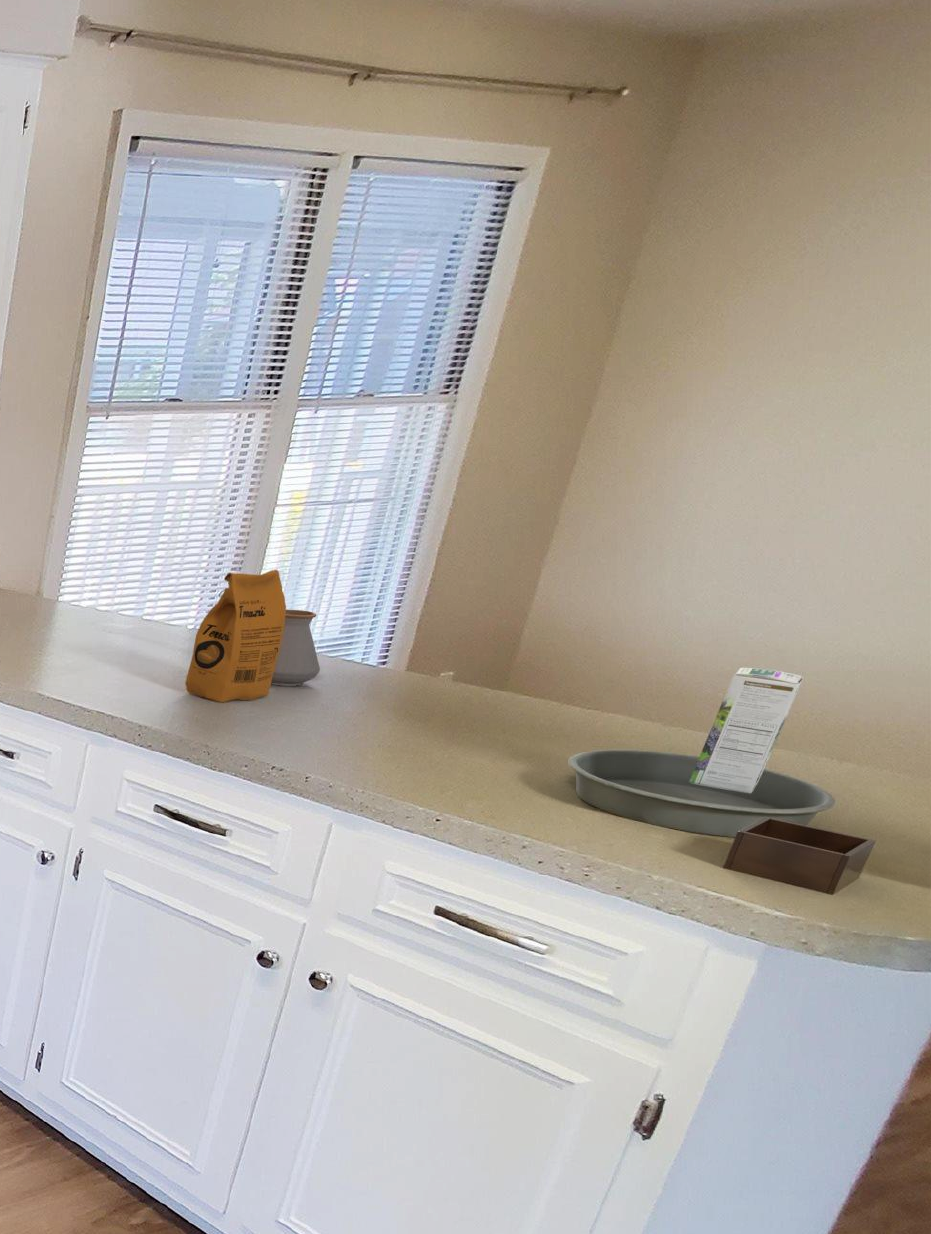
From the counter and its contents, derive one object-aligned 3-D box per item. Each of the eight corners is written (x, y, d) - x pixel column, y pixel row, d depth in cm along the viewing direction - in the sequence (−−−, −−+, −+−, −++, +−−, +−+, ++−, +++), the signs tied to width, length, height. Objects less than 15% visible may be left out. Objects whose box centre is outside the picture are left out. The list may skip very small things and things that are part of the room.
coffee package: (173, 690, 213) (199, 569, 205) (231, 685, 215) (258, 565, 207) (218, 704, 203) (246, 577, 196) (277, 699, 206) (307, 574, 198)
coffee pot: (331, 685, 214) (352, 604, 208) (283, 691, 211) (303, 608, 205) (229, 660, 233) (246, 585, 228) (184, 665, 230) (200, 589, 225)
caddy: (853, 890, 129) (876, 840, 127) (827, 907, 125) (849, 856, 123) (745, 864, 136) (765, 816, 134) (717, 880, 132) (737, 831, 130)
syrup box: (694, 774, 152) (736, 665, 147) (759, 785, 148) (805, 673, 143) (688, 783, 149) (730, 672, 144) (754, 795, 145) (801, 681, 139)
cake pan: (536, 769, 169) (546, 739, 167) (771, 794, 157) (784, 763, 156) (589, 825, 148) (601, 791, 147) (863, 858, 137) (879, 822, 136)
